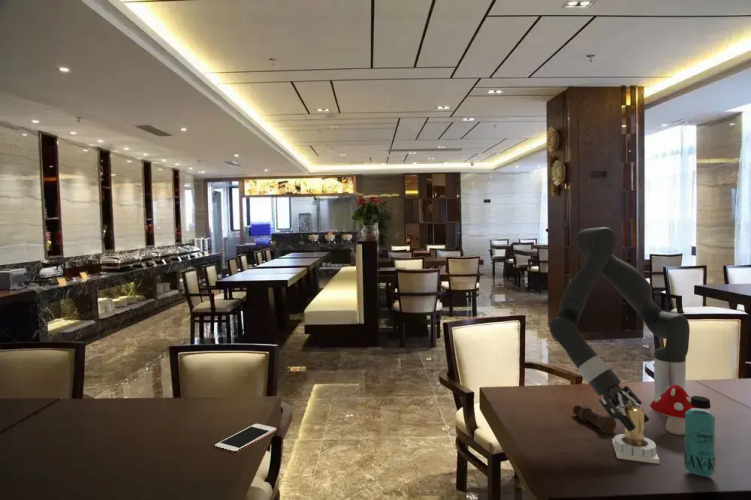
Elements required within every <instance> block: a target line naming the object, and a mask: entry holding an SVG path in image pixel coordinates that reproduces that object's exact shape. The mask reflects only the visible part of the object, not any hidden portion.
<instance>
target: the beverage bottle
mask: <svg viewBox="0 0 751 500" xmlns="http://www.w3.org/2000/svg"><path fill="white" fill-rule="evenodd" d="M690 398H691V403H690V404H691V406H693V407H696V408H692V409H690V410H688V411H686V413H685V415H686V417H685V419H684V420H685V434H684V442H683V443H684V444H683V445H684V447H683V449H684V451H683V452H684V454H683V459H684V460H683V466H684V469H685V470H686V471H687V472H689V473H691V474H693V475H696V476H702V477H711V476H713V475H714V474H715V471H716V469H715V466H716V463H715V461H716V450H715V449H716V435H715V434H716V417H715V415H714V414H713V413H712V412H710V411H709V409H711V400H710V399H709V398H708V397H705V396H700V395H693V396H690ZM698 408H701V409H698Z"/></svg>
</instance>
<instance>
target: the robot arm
mask: <svg viewBox="0 0 751 500" xmlns="http://www.w3.org/2000/svg"><path fill="white" fill-rule="evenodd" d="M617 238H618V237H617V235H616V233H615V231H614V230H613V229H612V228H610V227H601V226H600V227H593V228H592V227H591V228H586V229H583V230H580V231H579V232H578V233H576V236H575V244H576V247H577V249H578V251H579V253H580V254H581V255H582V256H583V258H585V259H586V260H587V261H586V262H585V263H584V264H583V266H582V267H581V269H580V270H578V271H577V273H576V274H575V275H574V276H573V277H572V278H571V280H570V281H569V283H568V284H567V285H566V287H565V289H564V292H563V294H562V297H561V299H560V302H559V308H558V309H559V310H558V313H557V315H556V317H555V318H553V319H551V321H550V323H549V325H548V326H549V333H550V335H551V337H552V339H553V340H554V341H556V342H557V343H559V344H560V346H561V347H562V348H563V350H565V352H566V353H567V356H568V357H569V359H570V360H571V361H572V363H573V364H574V365H575V367H576V368H577V369H578V371H579V372H580V374H581V375H582V376H583V379H585V381H586V382H587V383H588V384H589V386H590V387H591V388H592V390H593V391H594V392H595V394H597V395H598V396H600V397H601V396H603V397H601V398H600V399H599V400H598V402H599V403H600V404H601V406H602V407H603V409H604V410H605V411H606V413H607V415H610V417H611V418H612V419H614V420H619V421H620V422H621V424H622V425H623V426H624V428H625V427H626V429H627V430H628V431H632V430H634V429H635V428H636V427H635V425H634V424H633V423H632V421H631V420H630V419H629V418H628V417H627V415H626V416H625V412H624V408H625V407H627V406H634V407H639V408H641V407H642V406H641V404H642V401H641V400H640V399H639V397H638V396H637V395H636V394H635V393H634V392H633V391H632V389H630V387H629V386H627V385H625V386H623V387H621V386H620V384H621V380H620V378H619V377H618V376H617V374H616V373H614V371H613V370H612V369H611V368H610V367H609V366H608V364H607V363H606V362H605V361H604V360H603V358H601V357H600V356H599V354H597V352H596V351H595V350H594V349H593V348H592V347H591V345H590V344H589V343H588V342H587V341H586V339H585V338H584V337H583V335H582V334H581V332H580V331H579V330H578V325H579V322H580V318H581V315H582V313H583V311H584V309H585V306H586V304H587V301H588V298H589V296H590V294H591V291H592V289H593V287H594V285H595V283H596V282H597V280H598V278H599V276H600V275H601V274H602V275H603V276H604V277H605V278H606V279H607V280H608V281H609V283H610V284H611V285H612V286H613V287H614V289H616V291H617V292H618V294H620V295H621V296H622V298H623V299H625V301H626V302H628V304H629V305H630V306H631V307H632V309H633V310H634V311H635V312H636V313H637V314H638V315H639V317H640V318H641V320H642V321H643V323H644V324H645V325H646V327H647V328H648V330H649V331H650V333H652V335H654V336H655V337H657V338H661V339H664V340H665V344H664V345H665V346H663V347H659V348H656V349H654V353H653V358H654V359H653V364H654V365H653V366H654V368H653V371H654V373H653V374H654V378H653V380H654V381H653V387H654V388H653V391H654V392H653V401H654V400H655V399H656V398H658V397H659V396H660V395H662V394H663V393H664V392H665V391H666V389H667V387H669V386H671V385H679V386H681V387H682V388H683V389H684V390H685V392H686V393H687V390H686V389H687V387H686V385H687V384H686V383H687V381H686V379H687V378H686V377H687V375H686V370H687V369H686V368H687V365H686V362H687V355H688V352H689V346H690V345H689V344H690V342H689V341H690V322H689V320H688V318H687V317H686V316H684V315H683V314H680V313H679V314H678V313H674V312H668V311H665V310H663V309H662V308H660V306H658V304H657V303H656V302H655V301H654V300H653V289H652V287H651V284H650V283H649V281H648V280H647V279H646V278H645V276H644V275H643V274H642V272H640V271H639V270H638V269H637V268H636V267H634V266H632V265H631V264H629V263H628V262H625V261H623V260H622V259H620V258H618V257H616V256H615V255H614V254H613V253H614V251H615V249H616V246H617V242H618V239H617ZM649 421H650V417H649V416H648V415H647V413H645V412H644V424H646V423H647V422H649Z"/></svg>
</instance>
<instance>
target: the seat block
mask: <svg viewBox="0 0 751 500" xmlns="http://www.w3.org/2000/svg"><path fill="white" fill-rule="evenodd" d="M611 440H612V445H613V448H614V452H615V456H616V458H617V459H618V460H619V459H622V460H627V461H636V462H644V463H651V464H658V465H659V464H660V458H659V456H658V453H657V445H656V443H655V442H654V440H652V439H650V438H648V437H646V436H644V446H643V447H638V446H632V445H629V444H626V443H625V433H619V434H617V435H615V436H614V437H613V438H612V439H611Z"/></svg>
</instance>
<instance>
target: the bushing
mask: <svg viewBox="0 0 751 500" xmlns="http://www.w3.org/2000/svg"><path fill="white" fill-rule="evenodd" d="M624 412H625V416H626V415H627V417H628V418H629V419H630V420H631V421H632V423H633V424H634V425H635V427H636V428H635V429H634V430H632V431H628V430H627V429H626V427H625V426H624V434H625V443H626V444H629V445H632V446H638V447H643V446H644V437H645V423H644V413H645V410H644V409H643V408H641V407H640V408H639V407H634V406H632V405H631V406H627V407H624Z"/></svg>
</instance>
